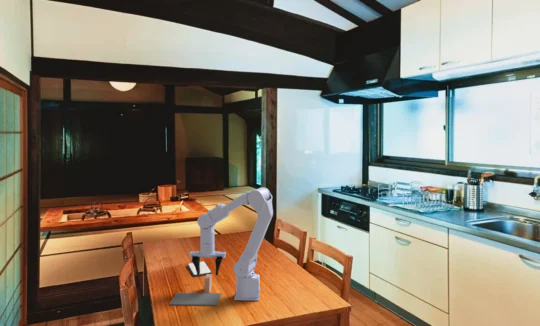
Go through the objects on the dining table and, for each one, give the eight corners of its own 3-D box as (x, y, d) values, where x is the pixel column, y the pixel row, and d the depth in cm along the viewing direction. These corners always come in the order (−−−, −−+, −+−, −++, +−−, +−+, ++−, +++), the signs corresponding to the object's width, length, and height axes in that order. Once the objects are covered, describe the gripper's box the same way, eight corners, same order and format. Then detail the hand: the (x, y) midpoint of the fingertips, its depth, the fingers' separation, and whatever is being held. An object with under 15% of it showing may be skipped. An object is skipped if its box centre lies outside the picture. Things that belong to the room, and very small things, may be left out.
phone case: (212, 275, 167) (204, 263, 182) (212, 272, 167) (204, 260, 182) (193, 278, 164) (186, 266, 178) (193, 275, 163) (186, 263, 178)
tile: (211, 288, 152) (211, 274, 151) (209, 293, 147) (209, 278, 146) (207, 288, 152) (206, 274, 151) (204, 293, 147) (204, 278, 147)
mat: (221, 294, 146) (221, 293, 146) (216, 305, 136) (216, 304, 136) (176, 293, 146) (176, 292, 146) (169, 305, 136) (169, 303, 136)
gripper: (226, 239, 152) (226, 271, 153) (192, 239, 152) (192, 270, 153) (223, 244, 145) (224, 277, 146) (188, 244, 145) (188, 276, 146)
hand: (207, 274), depth 149 cm, fingers open, 7 cm apart
